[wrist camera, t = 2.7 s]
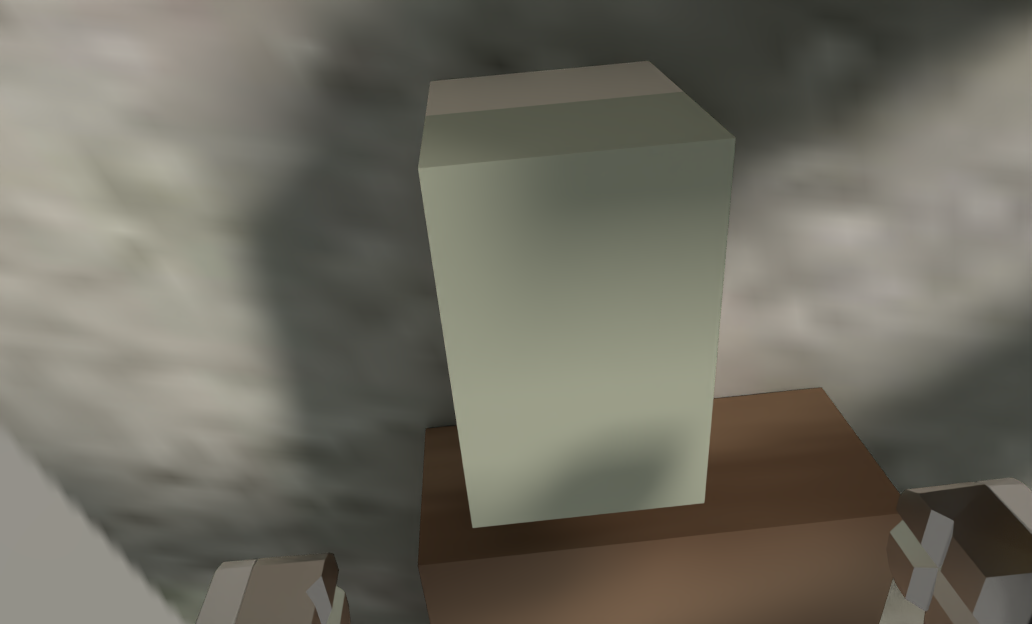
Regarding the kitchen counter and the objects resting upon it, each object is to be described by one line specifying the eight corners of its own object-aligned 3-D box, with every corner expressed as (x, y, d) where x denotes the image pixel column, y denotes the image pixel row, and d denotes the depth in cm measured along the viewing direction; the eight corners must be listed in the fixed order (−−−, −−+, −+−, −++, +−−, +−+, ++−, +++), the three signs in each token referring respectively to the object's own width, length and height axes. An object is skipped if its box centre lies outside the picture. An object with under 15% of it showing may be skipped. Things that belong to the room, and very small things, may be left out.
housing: (430, 79, 16) (418, 168, 11) (647, 60, 16) (735, 138, 11) (468, 366, 20) (472, 528, 15) (642, 348, 20) (704, 503, 15)
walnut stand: (425, 428, 21) (417, 566, 17) (821, 387, 21) (913, 512, 17) (468, 668, 27) (471, 812, 23) (775, 633, 28) (834, 770, 23)
